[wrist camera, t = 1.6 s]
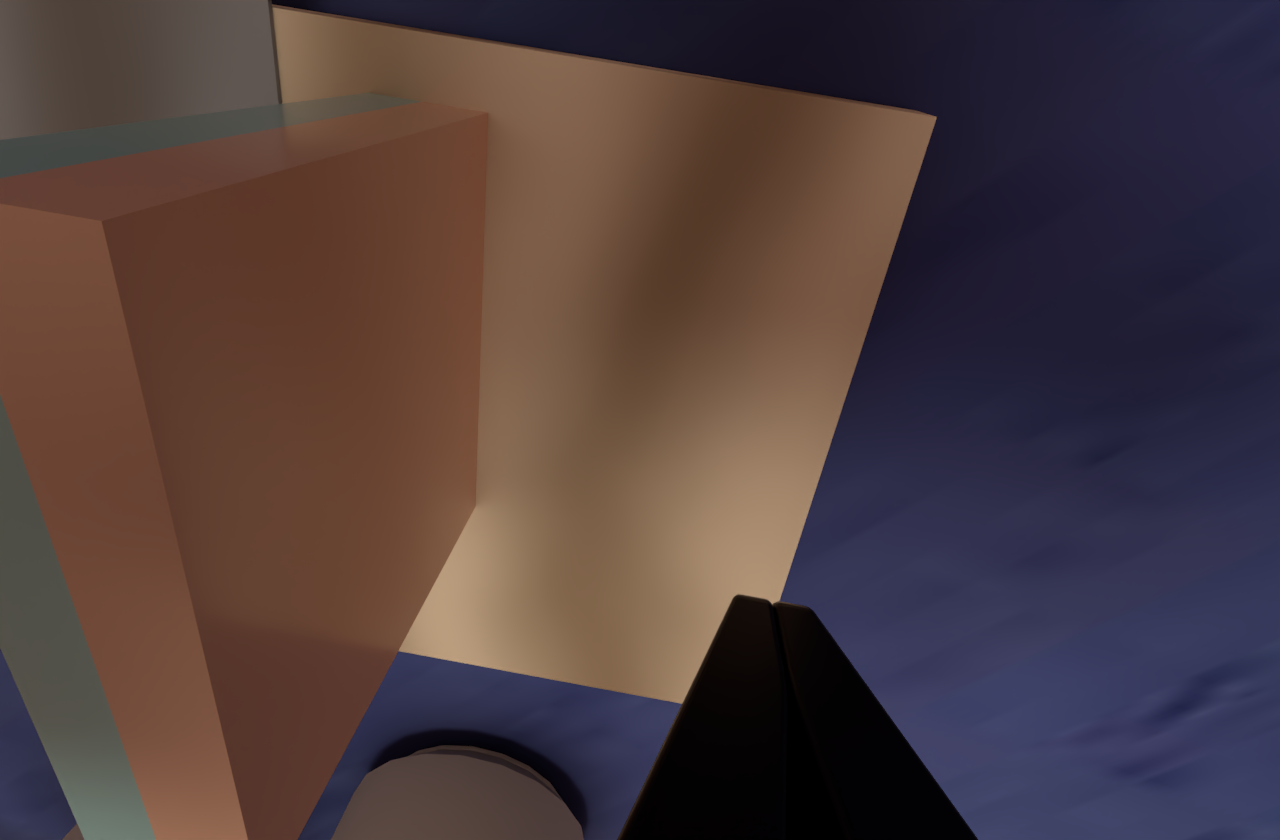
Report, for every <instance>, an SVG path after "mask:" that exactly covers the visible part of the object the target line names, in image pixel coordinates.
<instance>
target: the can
mask: <svg viewBox="0 0 1280 840" xmlns="http://www.w3.org/2000/svg"><path fill="white" fill-rule="evenodd" d="M331 840H584V838H583V833H582V828H581V825H580V824H579V822H578V821H577V820H576V818H575V817H574V815H573V814H572V813H571V811H570V810H569V808H568V807H567V806H566V804H565V803H564V802H563V800H562V799H561V797H560V796H559V794H558V793H557V792H556V790H555V789H554V787H553V786H552V785H551V783H550V782H549V781H548V780H546V779H545V778H544V777H542V776H541V775H540V774H539V773H537V772H536V771H535V770H534V769H532V768H531V767H530V766H528V765H526V764H524V763H522V762H519V761H517V760H515V759H513V758H511V757H509V756H507V755H505V754H502V753H498V752H494V751H490V750H486V749H482V748H478V747H474V746H453V745H442V746H437V747H432V748H427V749H422V750H418V751H416V752H415V753H413V754H411V755H409V756H407V757H403V758H399V759H394V760H390V761H389V762H387V763H385V764H383V765H382V766H380V767H378V768H376V769H375V770H373V771H371V772H369V773H368V774H366V776H365V777H364V779H363V780H362V782H361V783H360V785H359V786H358V788H357V789H356V791H355V792H354V794H353V796H352V798H351V800H350V802H349V804H348V806H347V808H346V810H345V812H344V814H343V816H342V818H341V820H340V822H339V824H338V826H337V828H336V830H335V832H334V834H333V836H332V838H331Z"/></svg>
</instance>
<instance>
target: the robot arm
mask: <svg viewBox="0 0 1280 840" xmlns="http://www.w3.org/2000/svg"><path fill="white" fill-rule="evenodd" d="M617 840H978V839H977V837H976V836H975V834H974V833H973V832H972V830H971V829H970V828H969V826H968V825H967V823H966V822H965V821H964V819H963V818H962V816H961V815H960V814H959V812H958V811H957V809H956V808H955V807H954V805H953V804H952V803H951V801H950V800H949V798H948V797H947V796H946V794H945V793H944V791H943V790H942V789H941V787H940V786H939V784H938V783H937V782H936V780H935V779H934V778H933V776H932V775H931V773H930V772H929V771H928V769H927V768H926V766H925V765H924V764H923V762H922V761H921V759H920V758H919V757H918V755H917V754H916V753H915V751H914V750H913V748H912V747H911V746H910V744H909V743H908V741H907V740H906V739H905V737H904V736H903V734H902V733H901V732H900V730H899V729H898V728H897V726H896V725H895V723H894V722H893V721H892V719H891V718H890V716H889V715H888V714H887V712H886V711H885V709H884V708H883V707H882V705H881V704H880V703H879V701H878V700H877V698H876V697H875V696H874V694H873V693H872V691H871V690H870V689H869V687H868V686H867V684H866V683H865V682H864V680H863V679H862V678H861V676H860V675H859V673H858V672H857V671H856V669H855V668H854V666H853V665H852V664H851V662H850V661H849V659H848V658H847V657H846V655H845V654H844V653H843V651H842V650H841V648H840V647H839V646H838V644H837V643H836V641H835V640H834V639H833V637H832V636H831V634H830V633H829V632H828V630H827V629H826V628H825V626H824V625H823V623H822V622H821V621H820V619H819V618H818V616H817V615H816V614H815V612H814V611H813V610H812V609H810V608H809V607H806V606H802V605H797V604H791V603H786V602H780V601H777V602H775V603H773V604H772V603H771V602H770V601H769V600H767V599H764V598H758V597H753V596H748V595H742V594H737V595H735V596H734V597H733V599H732V601H731V603H730V605H729V607H728V609H727V611H726V613H725V615H724V617H723V620H722V622H721V624H720V626H719V628H718V630H717V632H716V634H715V636H714V638H713V640H712V643H711V645H710V647H709V649H708V651H707V653H706V655H705V657H704V659H703V661H702V663H701V666H700V668H699V670H698V672H697V674H696V676H695V678H694V680H693V682H692V684H691V686H690V689H689V691H688V693H687V695H686V697H685V699H684V701H683V703H682V705H681V707H680V709H679V712H678V714H677V716H676V718H675V720H674V722H673V724H672V726H671V728H670V730H669V733H668V735H667V737H666V739H665V741H664V743H663V745H662V747H661V749H660V751H659V753H658V756H657V758H656V760H655V762H654V764H653V766H652V768H651V770H650V772H649V774H648V776H647V779H646V781H645V783H644V785H643V787H642V789H641V791H640V793H639V795H638V797H637V799H636V802H635V804H634V806H633V808H632V810H631V812H630V814H629V816H628V818H627V820H626V822H625V825H624V827H623V829H622V831H621V833H620V835H619V837H618V839H617Z"/></svg>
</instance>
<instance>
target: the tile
mask: <svg viewBox="0 0 1280 840" xmlns="http://www.w3.org/2000/svg"><path fill="white" fill-rule="evenodd" d="M487 138H488V112H482V111H476V110H470V109H464V108H458V107H452V106H446V105H440V104H434V103H428V102H422V101H416V100H410V99H404V98H398V97H392V96H386V95H380V94H374V93H361V94H354V95H346V96H338V97H330V98H322V99H315V100H307V101H299V102H291V103H284V104H276V105H268V106H260V107H252V108H245V109H237V110H229V111H221V112H213V113H206V114H198V115H190V116H182V117H174V118H167V119H159V120H151V121H143V122H135V123H128V124H120V125H112V126H104V127H97V128H89V129H81V130H73V131H65V132H58V133H50V134H42V135H34V136H26V137H19V138H11V139H3V140H0V648H1V651H2V653H3V655H4V658H5V660H6V662H7V664H8V667H9V669H10V671H11V673H12V676H13V678H14V680H15V683H16V685H17V687H18V689H19V692H20V694H21V696H22V699H23V701H24V703H25V705H26V708H27V710H28V712H29V714H30V717H31V719H32V721H33V724H34V726H35V728H36V730H37V733H38V735H39V737H40V740H41V742H42V744H43V746H44V749H45V751H46V753H47V755H48V758H49V760H50V762H51V765H52V767H53V769H54V771H55V774H56V776H57V778H58V781H59V783H60V785H61V787H62V790H63V792H64V794H65V796H66V799H67V801H68V803H69V806H70V808H71V810H72V812H73V815H74V817H75V819H76V822H77V824H78V826H79V828H80V831H81V833H82V835H83V837H84V840H298V838H299V836H300V834H301V832H302V830H303V828H304V826H305V825H306V823H307V821H308V819H309V817H310V815H311V813H312V811H313V810H314V808H315V806H316V804H317V802H318V800H319V798H320V797H321V795H322V793H323V791H324V789H325V787H326V785H327V783H328V782H329V780H330V778H331V776H332V774H333V772H334V770H335V769H336V767H337V765H338V763H339V761H340V759H341V757H342V755H343V754H344V752H345V750H346V748H347V746H348V744H349V742H350V740H351V739H352V737H353V735H354V733H355V731H356V729H357V727H358V726H359V724H360V722H361V720H362V718H363V716H364V714H365V712H366V711H367V709H368V707H369V705H370V703H371V701H372V699H373V697H374V696H375V694H376V692H377V690H378V688H379V686H380V684H381V683H382V681H383V679H384V677H385V675H386V673H387V671H388V669H389V668H390V666H391V664H392V662H393V660H394V658H395V656H396V654H397V653H398V651H399V649H400V647H401V645H402V643H403V641H404V640H405V638H406V636H407V634H408V632H409V630H410V628H411V626H412V625H413V623H414V621H415V619H416V617H417V615H418V613H419V612H420V610H421V608H422V606H423V604H424V602H425V600H426V598H427V597H428V595H429V593H430V591H431V589H432V587H433V585H434V583H435V582H436V580H437V578H438V576H439V574H440V572H441V570H442V569H443V567H444V565H445V563H446V561H447V559H448V557H449V555H450V554H451V552H452V550H453V548H454V546H455V544H456V542H457V540H458V539H459V537H460V535H461V533H462V531H463V529H464V527H465V526H466V524H467V522H468V520H469V518H470V516H471V514H472V512H473V511H474V509H475V507H476V479H477V448H478V417H479V386H480V355H481V324H482V293H483V262H484V231H485V200H486V169H487Z"/></svg>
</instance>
